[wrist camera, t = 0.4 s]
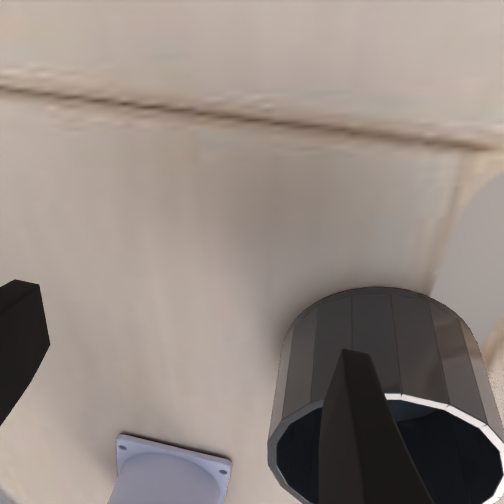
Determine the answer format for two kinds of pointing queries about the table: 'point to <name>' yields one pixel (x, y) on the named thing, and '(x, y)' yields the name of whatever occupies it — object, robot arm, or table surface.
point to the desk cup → (392, 392)
